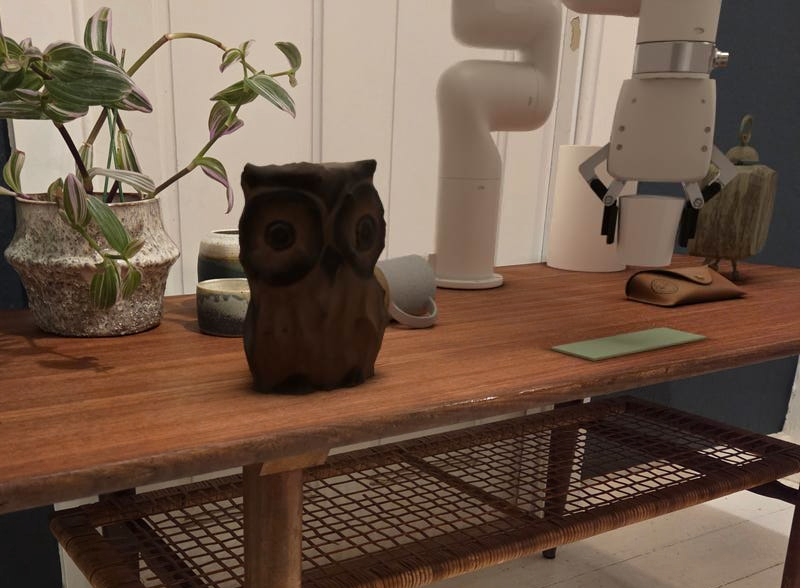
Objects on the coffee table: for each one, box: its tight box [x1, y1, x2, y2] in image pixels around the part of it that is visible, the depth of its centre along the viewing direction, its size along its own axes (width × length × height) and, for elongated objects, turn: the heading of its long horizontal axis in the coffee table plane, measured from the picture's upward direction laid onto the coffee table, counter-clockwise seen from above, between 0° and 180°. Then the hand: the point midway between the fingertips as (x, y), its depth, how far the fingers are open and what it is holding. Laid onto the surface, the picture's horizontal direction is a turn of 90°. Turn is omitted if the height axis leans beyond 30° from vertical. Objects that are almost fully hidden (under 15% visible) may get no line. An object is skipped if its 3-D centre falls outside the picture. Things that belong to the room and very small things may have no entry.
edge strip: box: [550, 326, 708, 362], centre depth 100 cm, size 20×6×1 cm, turn 124°
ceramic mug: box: [374, 253, 438, 329], centre depth 109 cm, size 11×8×8 cm
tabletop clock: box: [687, 114, 779, 281], centre depth 140 cm, size 14×9×25 cm, turn 144°
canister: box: [546, 144, 639, 273], centre depth 153 cm, size 14×14×20 cm
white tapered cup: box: [616, 194, 687, 268], centre depth 96 cm, size 7×7×7 cm
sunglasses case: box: [624, 263, 749, 307], centre depth 128 cm, size 18×7×7 cm
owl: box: [237, 158, 391, 396], centre depth 80 cm, size 13×13×20 cm
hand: (645, 243), depth 96 cm, fingers closed on white tapered cup, 6 cm apart
